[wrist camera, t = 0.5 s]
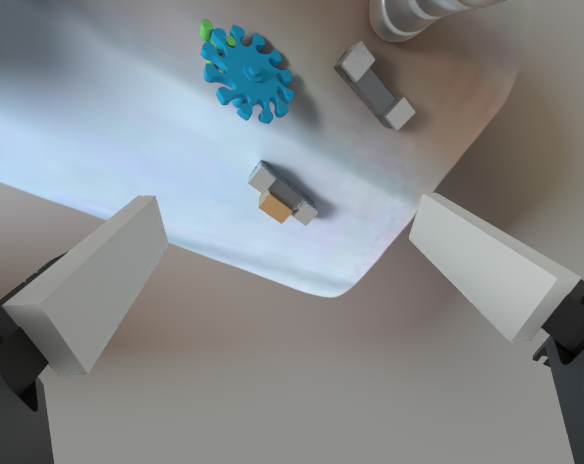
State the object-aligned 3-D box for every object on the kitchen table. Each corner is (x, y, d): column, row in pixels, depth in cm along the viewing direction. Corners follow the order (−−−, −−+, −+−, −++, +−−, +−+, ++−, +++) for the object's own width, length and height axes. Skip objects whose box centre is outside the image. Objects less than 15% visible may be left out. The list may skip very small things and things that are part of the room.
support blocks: (242, 184, 34) (239, 194, 31) (349, 46, 28) (361, 40, 24) (294, 222, 38) (297, 235, 35) (400, 110, 32) (416, 112, 28)
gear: (312, 88, 28) (262, 135, 23) (286, 116, 33) (241, 159, 28) (241, -4, 25) (167, 30, 20) (225, 43, 30) (163, 78, 25)
